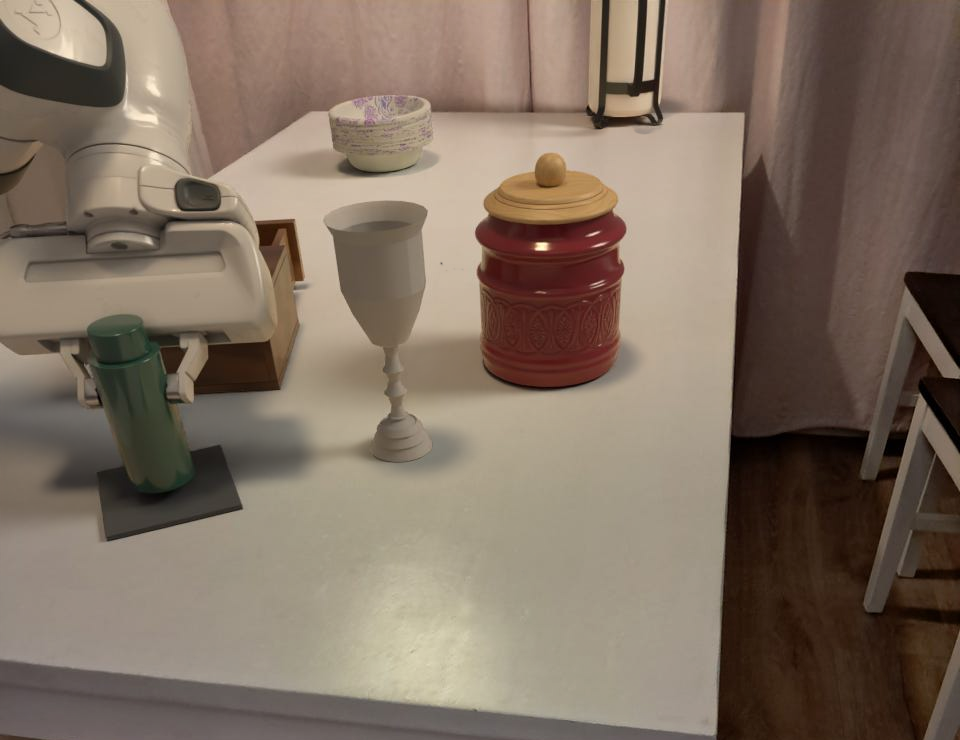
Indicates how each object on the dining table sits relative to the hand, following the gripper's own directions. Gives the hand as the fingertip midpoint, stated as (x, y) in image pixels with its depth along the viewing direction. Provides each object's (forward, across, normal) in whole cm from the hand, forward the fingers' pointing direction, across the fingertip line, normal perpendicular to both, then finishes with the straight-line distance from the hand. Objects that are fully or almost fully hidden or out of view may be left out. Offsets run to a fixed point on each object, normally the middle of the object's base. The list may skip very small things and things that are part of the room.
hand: (137, 404), depth 66 cm
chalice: (+2, +18, +10) cm, 21 cm away
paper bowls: (-59, +12, +71) cm, 93 cm away
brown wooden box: (-12, 0, +23) cm, 26 cm away
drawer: (-22, 0, +32) cm, 39 cm away
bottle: (+4, 0, +5) cm, 6 cm away
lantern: (-72, +51, +84) cm, 122 cm away
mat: (+5, 0, +6) cm, 8 cm away
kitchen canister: (-9, +31, +20) cm, 39 cm away
